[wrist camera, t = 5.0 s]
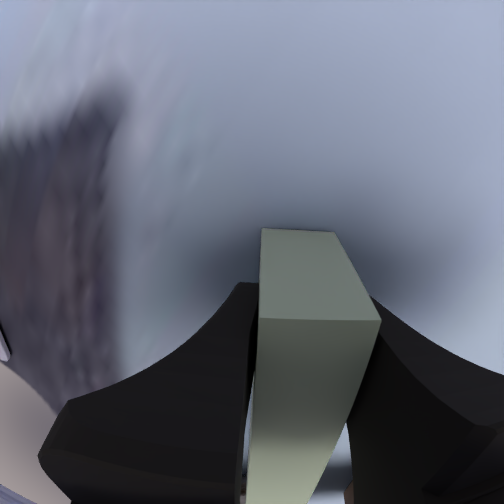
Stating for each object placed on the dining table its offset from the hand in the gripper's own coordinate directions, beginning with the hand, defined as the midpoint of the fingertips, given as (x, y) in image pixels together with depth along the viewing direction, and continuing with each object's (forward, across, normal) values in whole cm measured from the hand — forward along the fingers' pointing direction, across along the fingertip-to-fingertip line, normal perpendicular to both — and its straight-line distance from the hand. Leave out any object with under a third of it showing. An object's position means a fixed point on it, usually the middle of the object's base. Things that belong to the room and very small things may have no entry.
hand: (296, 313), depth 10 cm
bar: (+2, 0, +6) cm, 6 cm away
